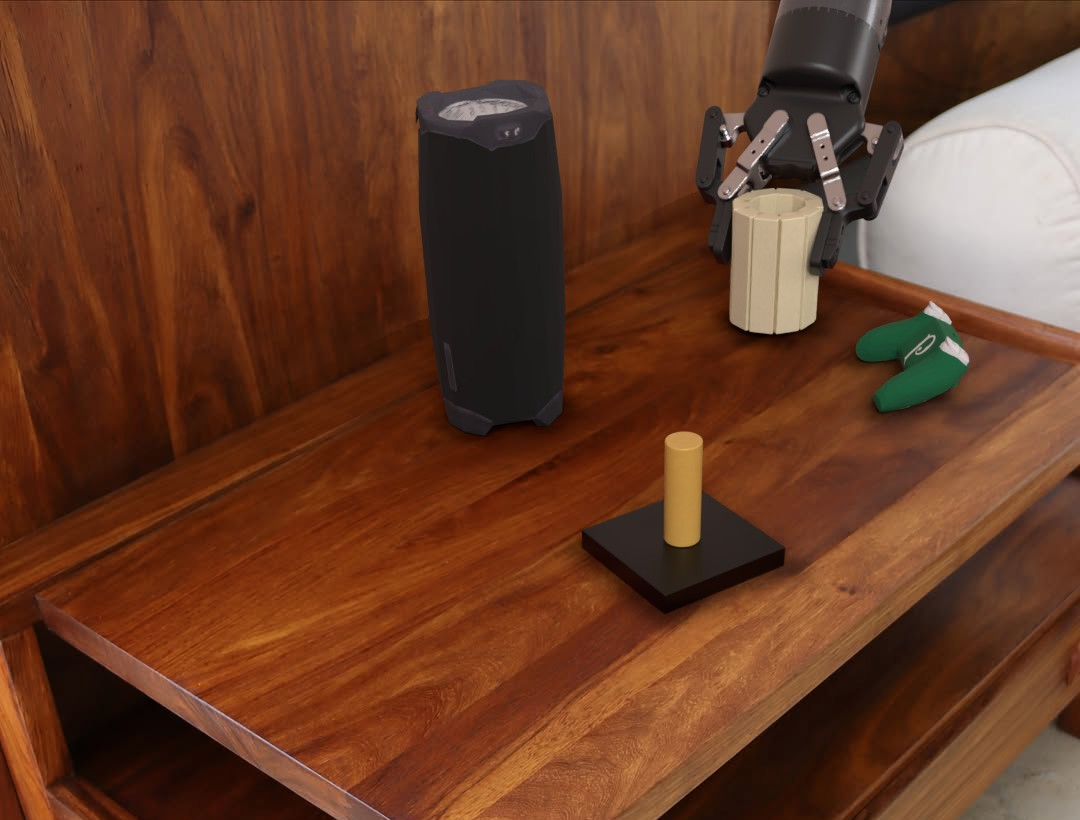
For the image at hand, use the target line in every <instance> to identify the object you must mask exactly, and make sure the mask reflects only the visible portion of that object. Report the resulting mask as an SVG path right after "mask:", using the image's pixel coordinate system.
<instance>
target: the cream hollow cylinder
mask: <svg viewBox="0 0 1080 820" xmlns="http://www.w3.org/2000/svg"><path fill="white" fill-rule="evenodd" d="M823 203H824V202H823V198H822V197H820V196H819V195H816V194H814V193H811V192H809V191H806V190H801V189H795V188H784V187H783V188H782V187H777V188H776V189H775V188H774V187H771V188H763V189H762V190H755V191H751V193H749V192H747V193H745V194H743V195H741V196H739V197H738V198H736V199H734V201H733V204H732V238H731V258H730V271H729V272H730V273H729V274H730V276H729V304H728V305H729V308H728V312H729V313H728V314H729V322H731V324H733V325H734V326H735V327H738V328H739V329H741V330H743V331H745V332H747V331H749V332H750V333H758V334H767V335H773V334H775V335H781V334H786V333H787V334H788V333H794V332H799V330H800V331H802V330H804V329H806V328H807V327H809V326H810V325H812V324H814V323H815V321H816V320H817V308H818V295H819V294H818V292H819V281H820V276H813V274H812V271H811V269H810V258H811V254H812V250H813V247H814V243H815V239H816V235H817V231H818V227H819V223H820V219H821V217H822V212H824V208H825V207H824V204H823Z"/></svg>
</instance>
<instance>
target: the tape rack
mask: <svg viewBox="0 0 1080 820" xmlns="http://www.w3.org/2000/svg"><path fill="white" fill-rule="evenodd" d="M703 451H704V440H703V437H702V436H701V435H699V434H698V433H695V432H692V431H676V432H673V433H670V434H669V435H666V437H665V439H664V455H663V456H664V458H663V459H664V460H663V462H664V465H663V467H664V468H663V469H664V470H663V471H664V474H663V499H661V500H658V501H655V502H653V503H651V504H647V505H645V506H642V507H639V508H637V509H633V510H631V511H628V512H626V513H623V514H621V515H618V516H615V517H612V518H610V519H607V520H604V521H601V522H599V523H596V524H594V525H591V526H588V527H585V528H583V529H581V548H582V549H583V550H585V552H587V553H588V554H589V555H591V556H592V557H593V558H594V559H595V560H597V562H599V563H600V564H602V566H604V567H605V568H607V569H608V570H609V571H611V572H612V573H613V574H614V575H616V576H617V577H618V578H619V579H620V580H621V581H623V582H624V583H625V584H627V585H628V586H629V587H630V588H632V589H633V590H634V591H635V592H637V593H638V594H639V595H640V596H642V597H643V598H644V599H645V600H647V601H648V602H649V603H651V604H652V605H653V606H654V607H655V608H657V609H658V610H659V611H660V612H662V613H663V614H664V615H665V614H668V613H671V612H673V611H675V610H678V609H680V608H683V607H685V606H688V605H691V604H693V603H695V602H698V601H700V600H703V599H705V598H708V597H710V596H713V595H715V594H717V593H720V592H722V591H725V590H727V589H729V588H732V587H734V586H737V585H740V584H742V583H744V582H747V581H750V580H753V579H755V578H756V577H759V576H761V575H762V576H763V575H764V574H766V573H769V572H771V571H774V570H776V569H779V568H781V567H784V566H785V559H786V546H784V545H783V544H782V543H780V542H779V541H777V540H775V539H774V538H773V537H772V536H770V535H769V534H767V533H765V532H764V531H763V530H761V529H759V528H758V527H756V526H755V525H753V524H752V523H751V522H749V521H747V519H745V518H743V517H742V516H740V515H739V514H737V513H736V512H735V511H733V510H732V509H730V508H729V507H727V506H726V505H725V504H723V503H722V502H720V501H718V499H716V498H714V497H713V496H711V495H710V494H708V493H707V492H705V491H704V490H702V489H703V459H704V458H703V457H704V455H703V453H704V452H703Z"/></svg>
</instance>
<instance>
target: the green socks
mask: <svg viewBox="0 0 1080 820" xmlns="http://www.w3.org/2000/svg"><path fill="white" fill-rule="evenodd" d="M952 323H953V321H952V320H951V318H950V317H949V315H948V314H947V313H946V312H945V311H944V310H943V309H942V308H941V307H940V306H938V305H937V304H935V303H934V302H933V301H932V300H930V301H928V305H927V306H926V307H925V308H924V309H922V310H921V311H920V312H919V313H918V314H917V315H914V316H912V317H910V318H906V319H901V320H897V321H893V322H889V323H885V324H883V325H880V326H876V327H874V328H873V329H869V330H868V331H866V332H865V333H864V334H863V335H862V336H861V337H860V338H859V339H858V340H857V342H856V344H855V345H856V346H855V353H856V355H857V357H858V358H859V359H860V360H861V361H864V362H871V363H872V362H883V361H884V362H885V361H886V362H887V361H896V360H897V361H898V360H900V363H901V366H902V369H903V371H901V372H899V373H898V374H896V375H894V376H893V377H891V378H888V380H886V381H885V382H884V383H883V384H882V385H881V386H880V388H878V389H877V390H876V391H875V393H874V394H873V396H872V403H873V404H874V405H875V407H876V408H877V410H878V412H879V413H888V412H889V413H890V412H894V411H898V410H904V409H908V408H911V407H914V406H917V405H920V404H922V403H925V402H927V401H929V400H931V399H934V398H936V397H938V396H940V395H941V394H943V393H945V392H947V391H949V390H950V389H951V390H952V389H953V390H954V389H955V388H956V387H957V386H959V381H960V380H961V379H962V377H963V376H964V375H965V374H966V373H967V372H968V371H969V369H970V365H971V364H970V357H969V354H968V352H966V350H965V347H964V345H963V341H962V339H961V337H960V336H959V334H958V331H956V329H955V328H954V326H953V325H952Z"/></svg>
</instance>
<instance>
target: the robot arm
mask: <svg viewBox="0 0 1080 820" xmlns="http://www.w3.org/2000/svg"><path fill="white" fill-rule="evenodd" d="M892 2H893V0H780V2H779V6H778V10H777V13H776V17H775V21H774V25H773V28H772V33H771V36H770V41H769V44H768V48H767V52H766V55H765V59H764V62H763V66H762V70H761V74H760V79H759V82H758V87H757V91H756V95H755V98H754V99H753V101H752V103H750V104H749V106H748V107H747V109H745V111H744V112H727V113H725V112H724V113H723V111H722V109H721V107H719V106H718V105H712V106H710V107H709V108H707V109H706V111H705V112H704V117H703V123H702V124H703V125H702V132H701V139H700V146H699V151H698V160H697V166H696V174H695V178H694V179H695V185H696V187H697V189H698V191H699V193H700V195H701V197H702V200H703V202H705V204H708V205H713V206H714V205H715V209H714V213H713V217H712V220H711V225H710V227H709V232H708V235H707V245H708V247H709V250H710V252H711V254H712V256H713V258H714V259H715V262H716V264H717V265H724V266H728V265H729V264H730V263H731V238H732V204H733V201H734V199H736V198H738V197H739V196H741V195H743V194H745V193H747V192H749V193H751V191H755V190H762V189H765V187H766V185H767V184H768V183H769V182H770V181H771V179H773V180H781V181H783V180H790V179H797V180H800V181H802V182H805V183H814V184H817V182H818V180H821V183H822V186H823V190H824V194H825V198H826V201H827V209H826V211H823V212H822V217H821V219H820V223H819V227H818V231H817V235H816V239H815V243H814V247H813V250H812V254H811V258H810V269H811V271H812V274H813V276H819V277H821V278H824V277H825V274H826V273H827V269H828V270H834V267H835V266H836V265H837V263H838V259H839V256H840V252H841V247H842V244H843V240H844V236H845V233H846V229H847V227H848V226H849V225H850V223H852V222H855V221H858V220H862V219H863V220H864V221H866V222H867V221H868V222H871V221H874V220H875V219H877V218H878V216H879V214H880V212H881V209H882V206H883V204H884V201H885V198H886V196H887V193H888V191H889V188H890V186H891V183H892V180H893V178H894V176H895V172H896V170H897V168H898V164H899V162H900V160H901V156H902V154H903V152H904V149H905V143H904V142H905V141H904V136H903V131H902V126H901V124H900V123H899V121H898V120H897V121H896V120H888V121H887V122H885V123H884V124H883V125H882V124H876V123H871V122H866V118H865V113H866V110H867V105H868V101H869V98H870V95H871V94H870V93H871V90H872V86H873V83H874V78H875V74H876V70H877V66H878V63H879V60H880V55H881V50H882V48H883V45H885V42H886V38H887V33H888V24H889V20H890V15H891V10H892V4H893V3H892ZM745 132H746V135H747V137H748V139H749V141H750V143H749V144H748V146H747V147H746V148H745V150H744V151H743V152H742V153H741V154H740V155H739V157H738V158H737V160H736V164H735V166H734V168H733V170H732V171H730V173H729V174H728V176H727V177H726V178H725V179H724V180H723V175H724V169H725V161H726V156H727V155H726V154H727V149H731V148H732V147H733V146H734V145H735V143H736V140H737V138H738V136H739V135H741V134H742V133H745ZM863 143H865V144H867V145H866V151H867V155H868V158H869V163H868V164H867V167H866V170H865V173H864V175H863V177H862V180H861V183H860V186H859V189H858V190H857V192H854V193H850V194H846V192H845V188H844V184H843V181H842V177H841V173H840V169H839V166H840V165H841V164H842V163H843V162H844V161H845V160H846V159H848V157H850V156H851V155H852V154H853V153H854V152H855V151H856V150H857V149H858V148H859V147H861V146H862V144H863Z"/></svg>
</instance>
